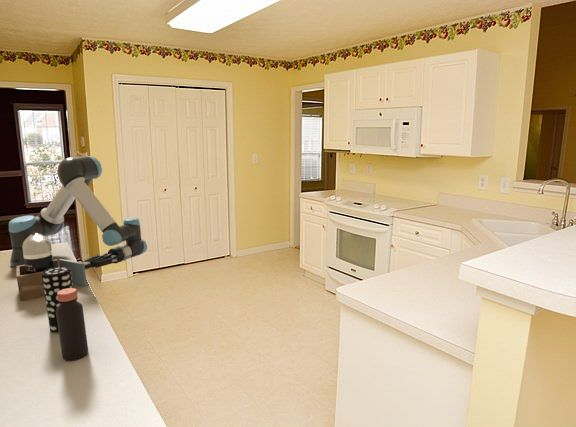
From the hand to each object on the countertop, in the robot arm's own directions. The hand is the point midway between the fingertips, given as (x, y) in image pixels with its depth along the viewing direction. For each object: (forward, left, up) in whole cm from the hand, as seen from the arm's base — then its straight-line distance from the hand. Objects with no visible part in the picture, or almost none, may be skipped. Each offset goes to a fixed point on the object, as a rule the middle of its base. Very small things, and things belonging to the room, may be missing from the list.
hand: (76, 269), depth 173 cm
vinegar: (+65, -8, -7) cm, 66 cm away
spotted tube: (+43, -9, -7) cm, 44 cm away
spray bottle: (0, -13, -7) cm, 15 cm away
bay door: (-1, -1, -6) cm, 7 cm away
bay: (0, -13, -6) cm, 15 cm away
